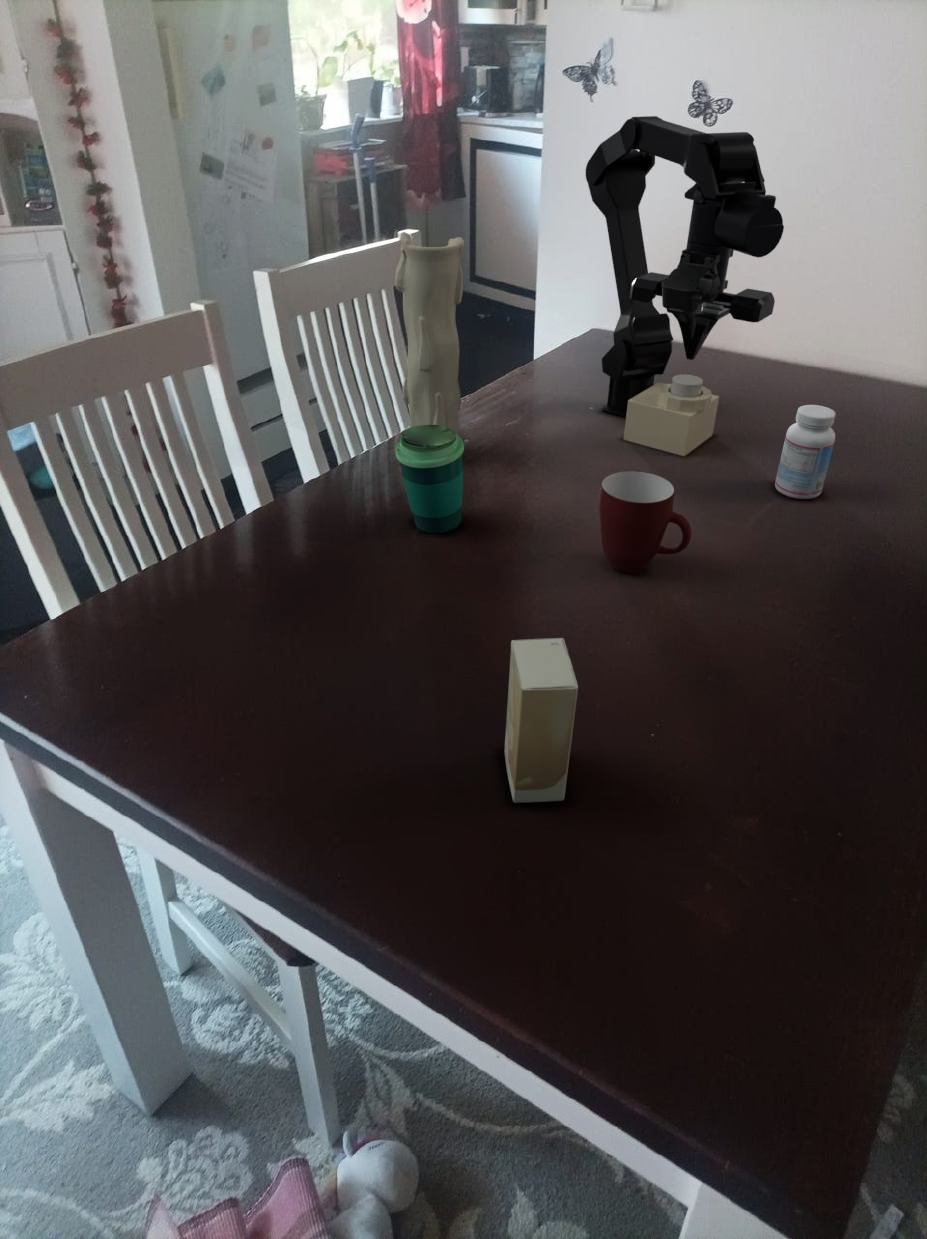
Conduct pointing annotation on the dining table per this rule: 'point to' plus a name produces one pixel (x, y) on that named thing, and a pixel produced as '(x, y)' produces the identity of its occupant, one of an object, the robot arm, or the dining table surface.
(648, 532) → the mug
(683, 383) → the cylinder
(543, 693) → the cosmetic box
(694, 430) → the block
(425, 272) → the vase
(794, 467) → the pill bottle
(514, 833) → the dining table surface
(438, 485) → the cup
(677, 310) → the robot arm
